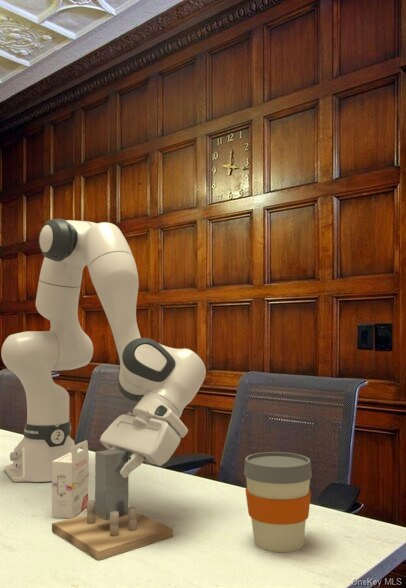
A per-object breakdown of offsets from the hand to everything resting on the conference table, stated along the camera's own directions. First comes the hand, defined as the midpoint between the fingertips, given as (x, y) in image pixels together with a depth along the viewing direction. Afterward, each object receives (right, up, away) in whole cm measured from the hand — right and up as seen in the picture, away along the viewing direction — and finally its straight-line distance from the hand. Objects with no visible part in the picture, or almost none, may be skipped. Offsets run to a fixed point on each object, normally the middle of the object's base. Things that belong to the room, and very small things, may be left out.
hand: (113, 472), depth 104 cm
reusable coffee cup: (+31, -11, -5) cm, 34 cm away
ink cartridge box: (-11, -13, +12) cm, 21 cm away
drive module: (0, -8, -1) cm, 8 cm away
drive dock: (0, -11, -1) cm, 11 cm away
